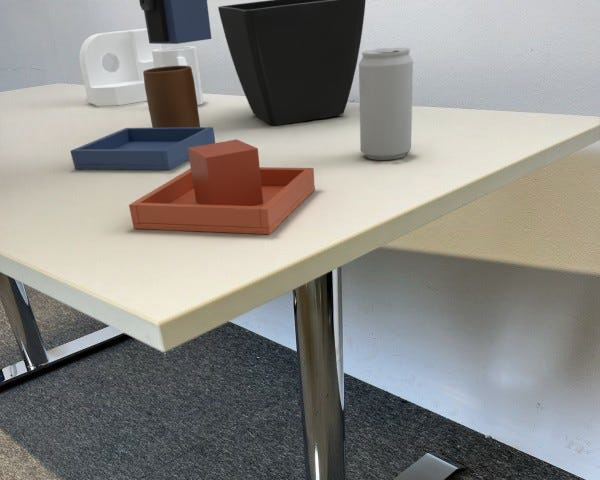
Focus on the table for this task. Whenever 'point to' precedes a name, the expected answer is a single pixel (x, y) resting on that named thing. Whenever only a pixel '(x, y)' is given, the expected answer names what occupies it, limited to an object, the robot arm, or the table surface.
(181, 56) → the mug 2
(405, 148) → the beverage can
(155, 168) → the blue tray
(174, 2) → the blue block
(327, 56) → the flower pot
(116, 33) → the tape dispenser
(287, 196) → the terracotta tray
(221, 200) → the terracotta block
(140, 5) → the robot arm
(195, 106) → the mug
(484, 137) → the table surface
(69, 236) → the table surface
